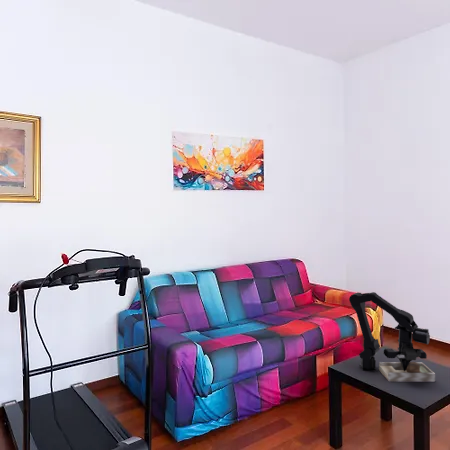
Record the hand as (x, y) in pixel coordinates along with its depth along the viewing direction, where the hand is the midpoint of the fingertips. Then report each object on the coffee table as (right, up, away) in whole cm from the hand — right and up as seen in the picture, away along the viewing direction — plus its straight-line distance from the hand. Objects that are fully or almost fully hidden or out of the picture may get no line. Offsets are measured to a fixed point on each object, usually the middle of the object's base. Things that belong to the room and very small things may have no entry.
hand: (404, 370), depth 195 cm
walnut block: (+4, -1, 0) cm, 4 cm away
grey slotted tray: (+2, -4, +3) cm, 5 cm away
